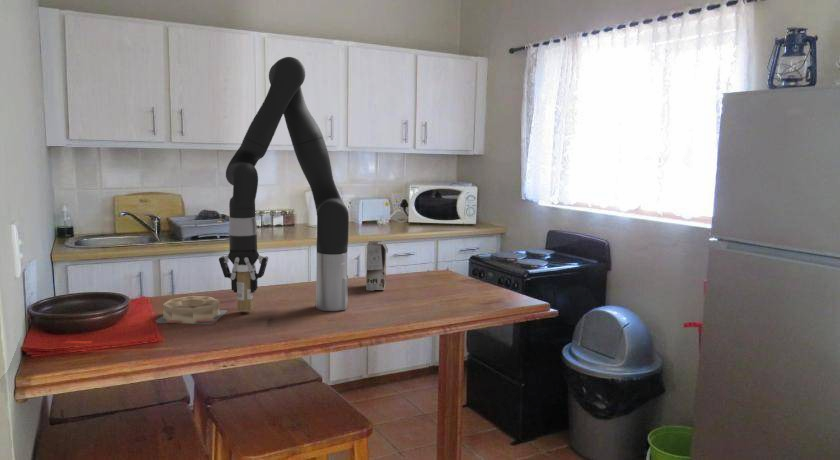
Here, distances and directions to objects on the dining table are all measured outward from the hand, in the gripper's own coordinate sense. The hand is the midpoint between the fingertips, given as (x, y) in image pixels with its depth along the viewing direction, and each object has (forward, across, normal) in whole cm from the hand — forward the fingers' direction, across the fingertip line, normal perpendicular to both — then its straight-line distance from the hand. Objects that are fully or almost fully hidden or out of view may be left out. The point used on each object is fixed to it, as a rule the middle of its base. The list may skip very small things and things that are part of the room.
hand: (244, 291), depth 172 cm
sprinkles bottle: (+5, 0, 0) cm, 5 cm away
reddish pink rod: (+6, +12, +11) cm, 17 cm away
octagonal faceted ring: (+6, +14, +5) cm, 16 cm away
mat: (+7, +14, +5) cm, 16 cm away
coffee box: (+8, -36, -38) cm, 53 cm away
